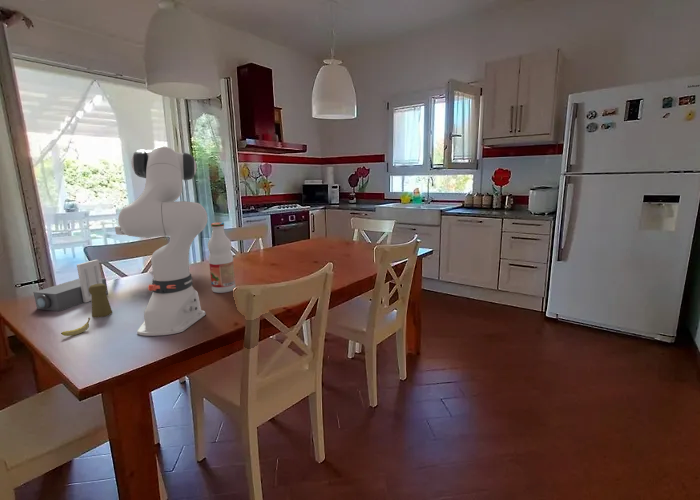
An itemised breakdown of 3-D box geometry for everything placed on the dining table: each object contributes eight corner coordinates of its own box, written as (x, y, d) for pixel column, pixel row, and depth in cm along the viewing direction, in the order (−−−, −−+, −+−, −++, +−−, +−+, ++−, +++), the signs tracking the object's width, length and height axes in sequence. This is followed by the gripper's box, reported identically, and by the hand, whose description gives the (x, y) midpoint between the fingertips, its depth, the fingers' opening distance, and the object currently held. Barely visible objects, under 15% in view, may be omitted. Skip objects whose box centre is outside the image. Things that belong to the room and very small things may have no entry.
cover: (86, 302, 142) (79, 264, 138) (83, 302, 142) (76, 264, 139) (105, 295, 149) (99, 259, 146) (102, 295, 150) (96, 259, 146)
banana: (90, 328, 118) (88, 316, 117) (93, 329, 117) (91, 317, 117) (61, 338, 111) (58, 326, 111) (63, 339, 111) (61, 327, 110)
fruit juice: (234, 292, 150) (227, 224, 144) (210, 294, 149) (202, 225, 143) (237, 285, 159) (231, 221, 153) (214, 287, 158) (207, 222, 152)
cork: (100, 318, 126) (94, 287, 124) (87, 316, 128) (82, 286, 126) (116, 312, 132) (111, 282, 129) (104, 310, 134) (99, 281, 131)
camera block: (54, 313, 132) (50, 293, 130) (31, 310, 135) (27, 291, 134) (108, 293, 152) (105, 276, 151) (87, 291, 156) (84, 275, 154)
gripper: (129, 220, 172) (102, 225, 159) (165, 221, 166) (141, 226, 153) (131, 234, 173) (105, 239, 160) (167, 235, 167) (143, 241, 155)
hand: (123, 233), depth 157 cm, fingers closed
